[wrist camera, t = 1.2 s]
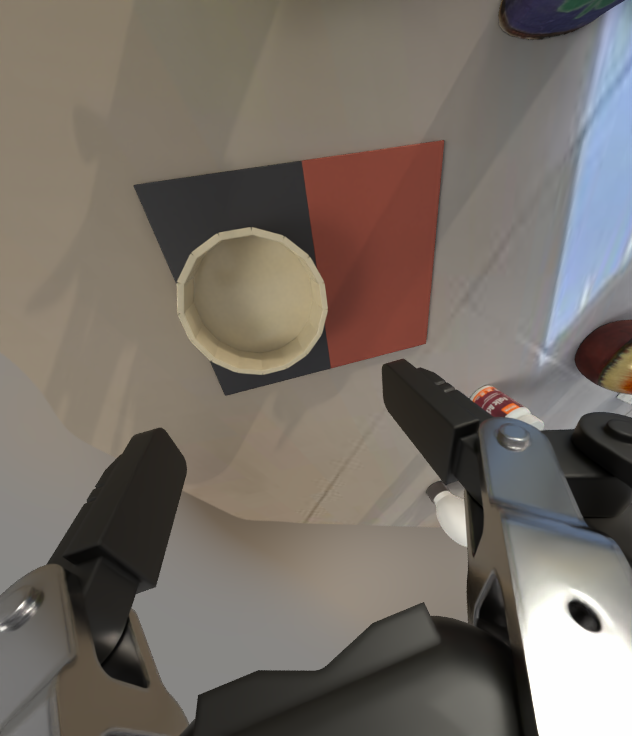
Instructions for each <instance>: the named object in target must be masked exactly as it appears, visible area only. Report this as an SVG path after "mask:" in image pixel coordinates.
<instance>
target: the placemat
mask: <svg viewBox="0 0 632 736" xmlns="http://www.w3.org/2000/svg"><path fill="white" fill-rule="evenodd" d="M443 149H444V140H442V141H435V142H428V143H421V144H414V145H407V146H400V147H393V148H387V149H380V150H373V151H366V152H359V153H352V154H345V155H338V156H331V157H324V158H317V159H310V160H303V161H296V162H290V163H283V164H276V165H269V166H262V167H255V168H248V169H241V170H234V171H227V172H220V173H213V174H206V175H199V176H193V177H186V178H179V179H172V180H165V181H158V182H151V183H144V184H137V185H134V188H135V190H136V192H137V195H138V197H139V199H140V202H141V204H142V206H143V209H144V211H145V213H146V215H147V218H148V220H149V222H150V225H151V227H152V229H153V231H154V234H155V236H156V238H157V241H158V243H159V245H160V247H161V250H162V252H163V254H164V257H165V259H166V261H167V264H168V266H169V268H170V270H171V273H172V275H173V277H174V280H175V282H176V284H177V283H178V282H177V280H178V278H179V276H180V274H181V272H182V270H183V268H184V266H185V264H186V262H187V259H188V257H189V255H190V254H191V253H192V251H194V250H195V249H196V248H198V247H199V246H200V245H202V244H203V243H204V242H206V241H207V240H208V239H210V238H211V237H212V236H214V235H215V234H218V233H219V232H225V231H230V230H236V229H242V228H247V227H251V229H252V227H254V228H257V229H261V230H265V231H269V232H272V233H276V234H280V235H283V236H285V237H286V238H288V239H289V240H290V241H292V242H293V243H294V244H295V245H297V246H298V247H299V248H300V249H302V250H303V251H304V252H305V253H307V254H308V255H309V257H311V259H312V261H313V263H314V264H315V266H316V268H317V270H318V272H319V273H320V275H321V277H322V279H323V280H324V283H325V289H326V297H327V305H328V309H327V310H328V312H327V316H326V320H325V324H324V328H323V332H322V334H321V337H320V338H319V339H318V341H317V342H316V344H315V345H314V347H313V348H312V349H311V351H310V352H309V354H307V356H305V357H304V358H302V359H301V360H299V361H298V362H296V363H295V364H293V365H292V366H290V367H289V368H287V367H286V369H284V370H280V371H276V372H273V373H269V374H265V375H263V373H262V375H257V374H245V373H237V372H233V371H231V370H229V369H227V368H224V367H222V366H220V365H218V364H215V363H213V362H212V361H210V362H211V364H212V367H213V369H214V371H215V374H216V376H217V378H218V380H219V383H220V385H221V387H222V390H223V392H224V394H225V396H226V395H230V394H234V393H238V392H242V391H246V390H249V389H253V388H257V387H261V386H265V385H269V384H272V383H276V382H280V381H284V380H288V379H292V378H296V377H299V376H303V375H307V374H311V373H315V372H319V371H322V370H326V369H330V368H334V367H338V366H342V365H346V364H349V363H353V362H357V361H361V360H365V359H369V358H373V357H376V356H380V355H384V354H388V353H392V352H396V351H399V350H403V349H407V348H411V347H415V346H419V345H423V344H426V337H427V326H428V315H429V304H430V293H431V281H432V270H433V259H434V248H435V237H436V226H437V215H438V204H439V193H440V182H441V171H442V160H443Z"/></svg>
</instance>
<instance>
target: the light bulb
mask: <svg viewBox="0 0 632 736" xmlns="http://www.w3.org/2000/svg"><path fill="white" fill-rule="evenodd" d="M426 493H427V494H428V496H429V498H430V499H431V501H432V502H433V503H434V504H436V514H437V518H438V520H439V523H440V525H441V526H442V528H443V530H444V531H445V532H446V534H447V535H448V536H449V537H450V538H451V539H453V540H454V541H455V542H457V543H458V544H460V545H463V546H465V547H467V535H466V520H465V505H464V500H463V499H461V498H459V497H457V496H453V495H452V494H451V492H450V491H449V489H448V488H447V487H446V485H445V484H444V483H443V482H436V483H434V484H432V485H431V486H430V487H429V488H428V489H427V491H426Z"/></svg>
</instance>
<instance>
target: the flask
mask: <svg viewBox="0 0 632 736" xmlns="http://www.w3.org/2000/svg"><path fill="white" fill-rule="evenodd" d="M623 1H624V0H502V2H501V6H500V10H499V15H498V16H499V25H500V26H501V28H502V29H503V31H504V32H506V33H507V34H509V35H511V36H514V37H520V38H521V39H524V38H527V39H528V40H529V39H531V40H533V39H543V38H544V37H551V36H557V35H560V34H566V33H569V32H573V31H575V30H577V29H579V28H581V27H583V26H585V25H587V24H589V23H591V22H592V21H594V20H595V19H596V18H598V17H599V16H600V15H602V14H603V13H605V12H606V11H608V10H610V9H611V8H613V7H614V6H616V5H618V4H619V3H621V2H623Z"/></svg>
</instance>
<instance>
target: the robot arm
mask: <svg viewBox="0 0 632 736" xmlns="http://www.w3.org/2000/svg"><path fill="white" fill-rule="evenodd" d="M382 383H383V399H384V403H385V406H386V408H387V410H388V412H389V413H390V414H391V416H392V417H393V418H394V420H395V421H396V422H397V423H398V425H399V426H400V427H401V429H402V430H403V431H404V432H405V434H406V435H407V436H408V437H409V439H410V440H411V441H412V443H413V444H414V445H415V446H416V448H417V449H418V450H419V452H420V453H421V454H422V455H423V457H424V458H425V459H426V461H427V462H428V463H429V464H430V466H431V467H432V468H433V470H434V471H435V472H436V473H437V475H438V476H439V477H440V478H441V480H442V481H443V482H444V484H445V485H447V484H450V483H453V482H455V481H459V482H460V483H461V484H462V485H463V487H464V488H465V489H464V505H465V520H466V535H467V550H468V575H467V613H468V623H466V622H462V621H459V620H456V619H453V618H447V617H441V616H430V614H429V612H428V610H427V608H426V606H425V604H424V602H423V603H420V604H418V605H415V606H413V607H411V608H408V609H406V610H404V611H401V612H399V613H396V614H394V615H391V616H389V617H387V618H384V619H382V620H379V621H377V622H374V623H372V624H371V625H370V626H369V627H368V628H367V629H366V630H365V631H364V632H363V633H362V634H360V635H359V636H358V637H357V638H356V639H355V640H354V641H353V642H352V643H351V644H350V645H349V646H348V647H346V648H345V649H344V650H343V651H342V652H341V653H340V654H339V655H338V656H337V657H335V658H334V659H333V660H332V661H331V662H330V663H329V664H328V665H327V666H325V667H324V668H323V669H320V670H316V671H267V670H266V671H265V670H264V671H263V670H261V671H260V670H258V671H256V672H253V673H251V674H248V675H246V676H244V677H241V678H239V679H236V680H234V681H232V682H229V683H227V684H224V685H222V686H219V687H217V688H215V689H212V690H210V691H207V692H205V693H203V694H200V695H198V701H197V710H196V718H195V719H194V720H193V721H192V722H191V724H190V725H189V722H188V720H187V718H186V716H185V714H184V712H183V711H182V709H181V707H180V705H179V704H178V703H177V701H176V700H175V699H174V698H173V697H172V696H171V695H170V694H169V692H168V691H167V690H166V688H165V687H164V685H163V683H162V681H161V678H160V675H159V673H158V670H157V667H156V665H155V662H154V659H153V656H152V654H151V651H150V648H149V646H148V643H147V640H146V637H145V635H144V632H143V629H142V627H141V624H140V621H139V619H138V616H137V614H136V612H135V610H133V609H132V608H131V607H132V604H133V601H134V598H135V595H136V594H137V593H140V592H143V591H146V590H149V589H151V588H154V587H156V584H157V581H158V577H159V573H160V570H161V565H162V562H163V559H164V555H165V551H166V547H167V544H168V540H169V536H170V533H171V529H172V525H173V522H174V518H175V514H176V511H177V507H178V503H179V500H180V496H181V492H182V489H183V485H184V481H185V477H186V473H187V466H186V461H185V458H184V456H183V455H182V453H181V452H180V451H179V449H178V448H177V446H176V445H175V443H174V442H173V440H172V439H171V438H170V436H169V435H168V433H167V432H166V431H165V430H164V429H163V428H157V429H153V430H150V431H146V432H143V433H139V434H136V435H134V436H133V437H132V438H131V440H130V442H129V443H128V445H127V447H126V448H125V450H124V452H123V454H121V455H120V456H119V457H118V458H117V459H116V460H115V461H114V462H113V463H112V464H111V465H110V466H109V467H108V468H107V469H106V470H105V471H104V473H103V475H102V476H101V478H100V480H99V481H98V483H97V484H96V486H95V487H96V489H94V490H93V491H92V492H91V494H90V496H89V497H88V499H87V503H86V504H84V505H83V507H82V508H81V510H80V512H79V513H78V515H77V516H76V518H75V520H74V521H73V523H72V524H71V526H70V528H69V529H68V531H67V533H66V534H65V536H64V537H63V539H62V541H61V542H60V544H59V546H58V547H57V549H56V550H55V552H54V554H53V555H52V557H51V558H50V560H49V561H48V563H47V564H46V565H44V566H42V567H39V568H37V569H35V570H33V571H31V572H30V573H28V574H26V575H25V576H24V577H22V578H21V579H19V580H18V581H16V582H15V583H14V584H13V585H11V586H10V587H9V588H8V589H7V590H6V591H5V592H3V593H2V594H1V595H0V736H632V418H631V417H627V416H623V415H619V414H614V413H606V412H594V413H588V414H586V415H584V416H582V417H581V419H580V420H579V422H578V424H577V426H576V428H575V429H569V430H542V431H540V430H539V429H537V428H536V427H534V426H532V425H530V424H528V423H526V422H523V421H521V420H517V419H514V418H508V417H493V416H492V415H490V414H489V413H488V412H486V411H485V410H484V409H482V408H481V407H480V406H478V405H477V404H476V403H474V402H473V401H472V400H470V399H469V398H468V397H466V396H465V395H464V394H462V393H461V392H460V391H458V390H455V388H454V387H453V386H452V385H450V384H449V383H448V382H447V383H446V382H445V380H444V379H442V378H441V377H440V376H438V375H437V374H435V373H434V372H431V371H428V370H426V369H423V368H417V369H416V368H415V367H414V366H413V365H411V364H410V363H409V362H408V361H406V360H405V359H400V360H396V361H393V362H390V363H386V364H383V366H382Z"/></svg>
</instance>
